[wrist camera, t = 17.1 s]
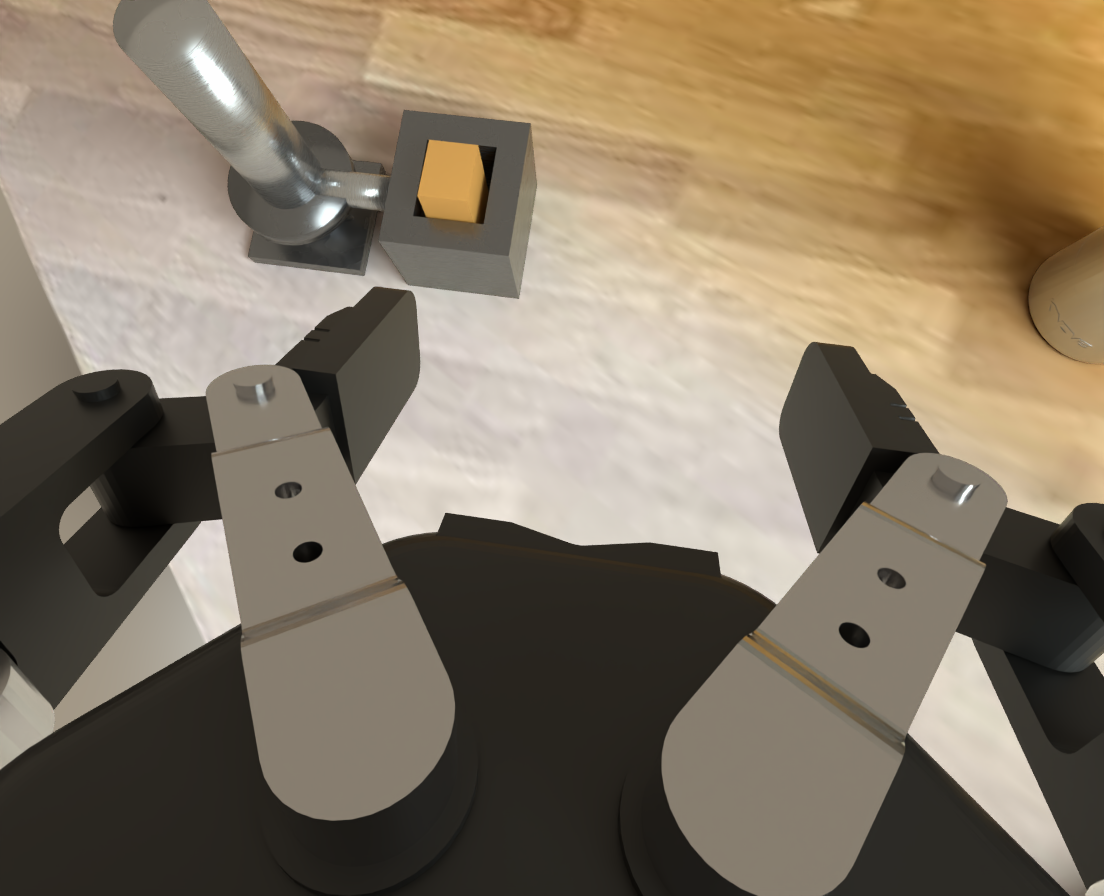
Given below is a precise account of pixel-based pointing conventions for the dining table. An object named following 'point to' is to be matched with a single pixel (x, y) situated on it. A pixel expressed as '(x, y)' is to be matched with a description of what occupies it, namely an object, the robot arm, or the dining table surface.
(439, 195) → the orange block
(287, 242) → the bracket post
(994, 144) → the dining table surface
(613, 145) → the dining table surface
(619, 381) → the dining table surface
